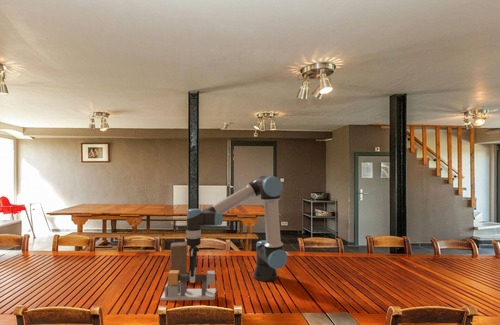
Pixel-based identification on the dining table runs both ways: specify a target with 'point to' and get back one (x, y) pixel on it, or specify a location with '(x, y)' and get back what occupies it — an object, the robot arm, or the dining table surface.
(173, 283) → the rod with end blocks
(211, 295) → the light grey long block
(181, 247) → the wooden block
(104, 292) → the dining table surface
